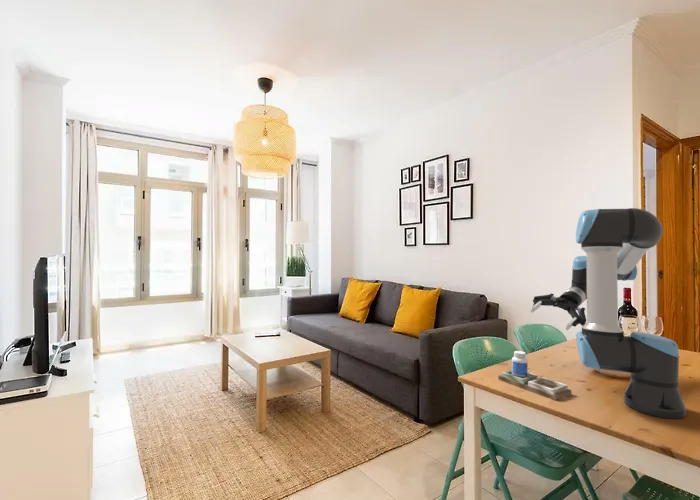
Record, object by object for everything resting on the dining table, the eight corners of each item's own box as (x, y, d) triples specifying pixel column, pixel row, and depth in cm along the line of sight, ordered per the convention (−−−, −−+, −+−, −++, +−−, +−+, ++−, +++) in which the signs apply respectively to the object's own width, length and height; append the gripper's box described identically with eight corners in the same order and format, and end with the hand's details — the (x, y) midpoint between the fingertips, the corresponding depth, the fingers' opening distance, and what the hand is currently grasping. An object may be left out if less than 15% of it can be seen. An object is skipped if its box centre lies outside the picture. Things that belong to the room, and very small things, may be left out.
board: (571, 394, 124) (571, 385, 124) (555, 400, 119) (555, 391, 119) (514, 374, 143) (514, 367, 143) (498, 379, 138) (498, 371, 138)
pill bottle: (529, 380, 133) (529, 354, 133) (513, 379, 134) (514, 353, 134) (525, 375, 138) (525, 350, 138) (510, 374, 139) (510, 349, 139)
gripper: (601, 320, 145) (580, 342, 133) (540, 293, 162) (517, 310, 150) (608, 305, 141) (587, 326, 129) (545, 279, 158) (521, 295, 146)
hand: (549, 318), depth 139 cm, fingers open, 13 cm apart
